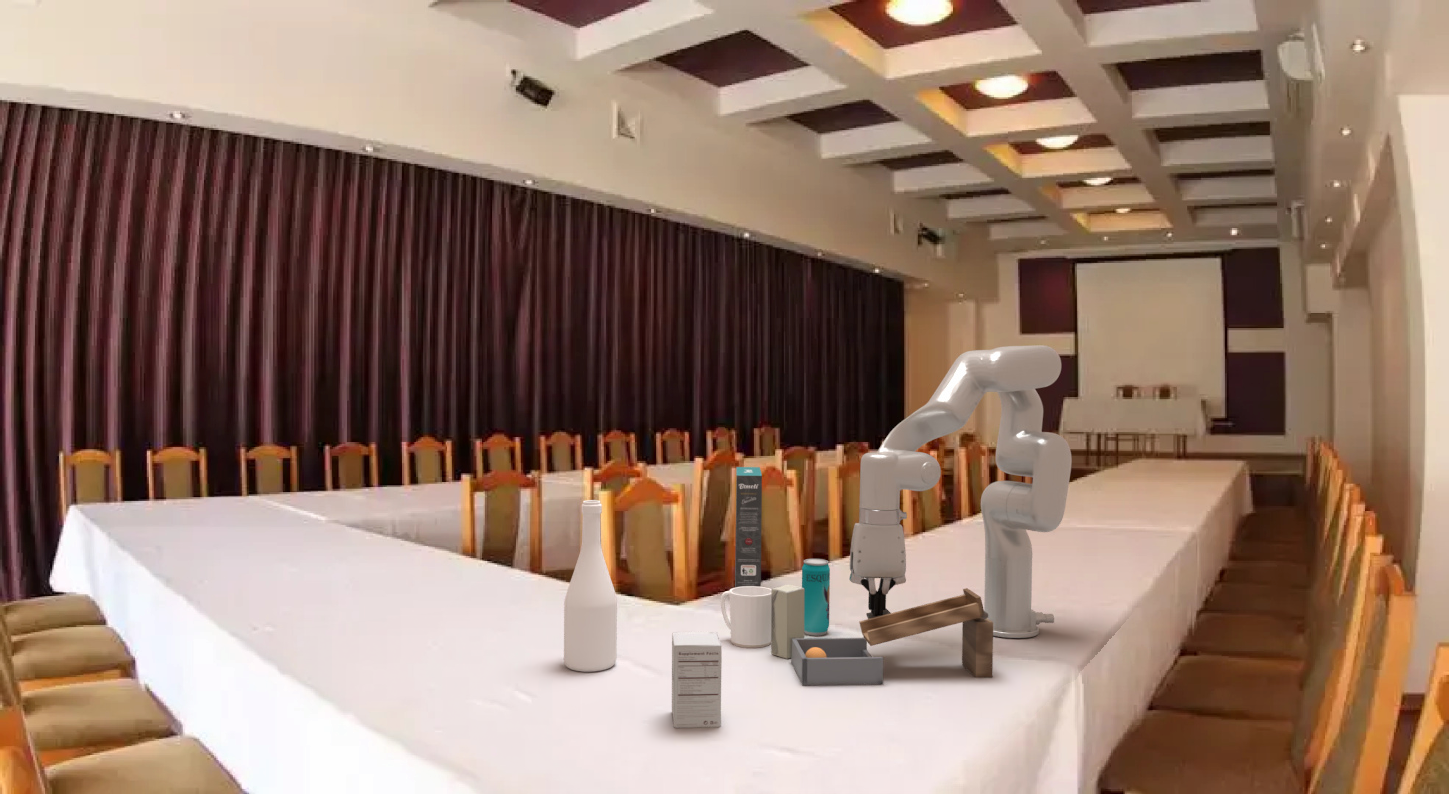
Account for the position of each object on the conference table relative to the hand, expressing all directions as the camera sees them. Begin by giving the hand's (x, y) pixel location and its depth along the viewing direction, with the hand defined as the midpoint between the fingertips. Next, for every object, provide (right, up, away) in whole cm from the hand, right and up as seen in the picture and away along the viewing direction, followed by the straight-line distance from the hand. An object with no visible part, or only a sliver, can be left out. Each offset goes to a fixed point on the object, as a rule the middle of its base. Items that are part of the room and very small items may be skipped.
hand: (876, 613), depth 176 cm
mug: (-25, -8, +9) cm, 27 cm away
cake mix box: (-23, -7, +54) cm, 59 cm away
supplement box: (-33, -9, -34) cm, 48 cm away
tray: (-9, -8, -11) cm, 16 cm away
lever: (+7, 0, -5) cm, 9 cm away
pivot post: (+17, -8, -9) cm, 21 cm away
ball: (-13, -6, -11) cm, 18 cm away
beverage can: (-10, -8, +16) cm, 21 cm away
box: (-17, -8, 0) cm, 19 cm away
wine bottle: (-54, -8, -7) cm, 55 cm away
